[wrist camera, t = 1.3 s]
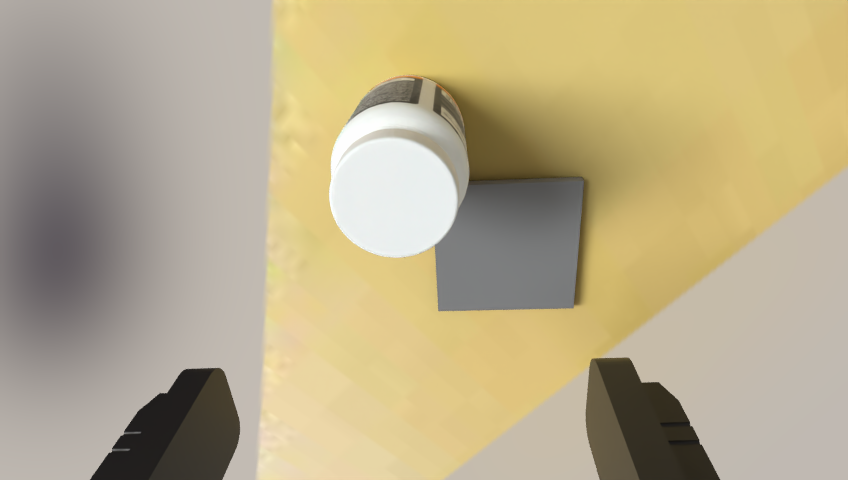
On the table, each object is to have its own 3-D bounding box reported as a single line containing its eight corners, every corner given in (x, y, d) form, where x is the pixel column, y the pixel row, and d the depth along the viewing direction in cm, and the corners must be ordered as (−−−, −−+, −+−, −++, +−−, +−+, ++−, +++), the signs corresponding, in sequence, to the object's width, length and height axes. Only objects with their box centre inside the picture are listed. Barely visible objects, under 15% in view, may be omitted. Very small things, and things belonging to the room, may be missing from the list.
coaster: (432, 182, 29) (432, 186, 28) (581, 176, 28) (584, 180, 28) (438, 305, 33) (438, 310, 32) (571, 302, 32) (573, 308, 32)
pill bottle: (347, 167, 29) (302, 253, 20) (366, 59, 26) (324, 104, 17) (449, 190, 29) (449, 286, 20) (478, 87, 27) (492, 144, 18)
